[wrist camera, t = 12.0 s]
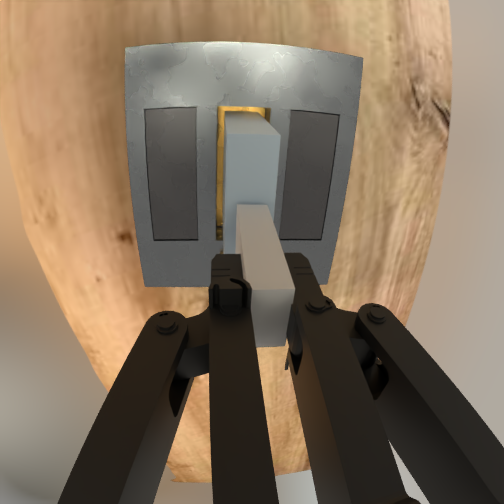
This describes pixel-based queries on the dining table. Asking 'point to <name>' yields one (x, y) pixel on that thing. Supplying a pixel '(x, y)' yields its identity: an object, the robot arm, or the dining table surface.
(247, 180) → the panel
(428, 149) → the dining table surface
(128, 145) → the panel
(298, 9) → the dining table surface
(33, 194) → the dining table surface
